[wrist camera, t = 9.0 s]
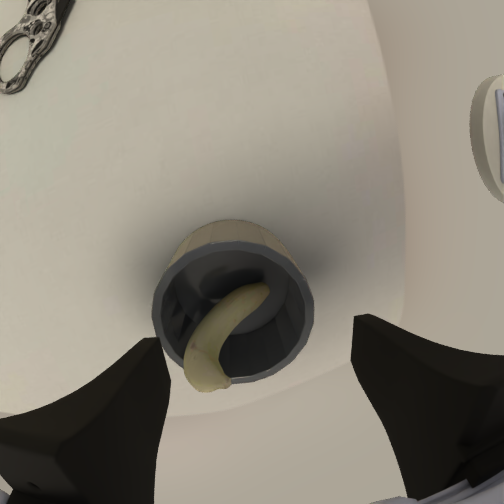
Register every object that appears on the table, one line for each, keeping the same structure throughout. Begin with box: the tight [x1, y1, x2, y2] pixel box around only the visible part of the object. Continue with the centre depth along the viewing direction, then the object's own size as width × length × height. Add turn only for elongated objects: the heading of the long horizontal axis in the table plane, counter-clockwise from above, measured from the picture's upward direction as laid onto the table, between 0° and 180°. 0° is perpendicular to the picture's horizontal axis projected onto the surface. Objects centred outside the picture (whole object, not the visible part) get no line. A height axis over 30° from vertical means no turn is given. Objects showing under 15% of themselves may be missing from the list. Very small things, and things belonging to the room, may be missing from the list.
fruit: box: [184, 282, 270, 392], centre depth 17 cm, size 4×8×2 cm
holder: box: [151, 220, 314, 384], centre depth 19 cm, size 8×8×6 cm
